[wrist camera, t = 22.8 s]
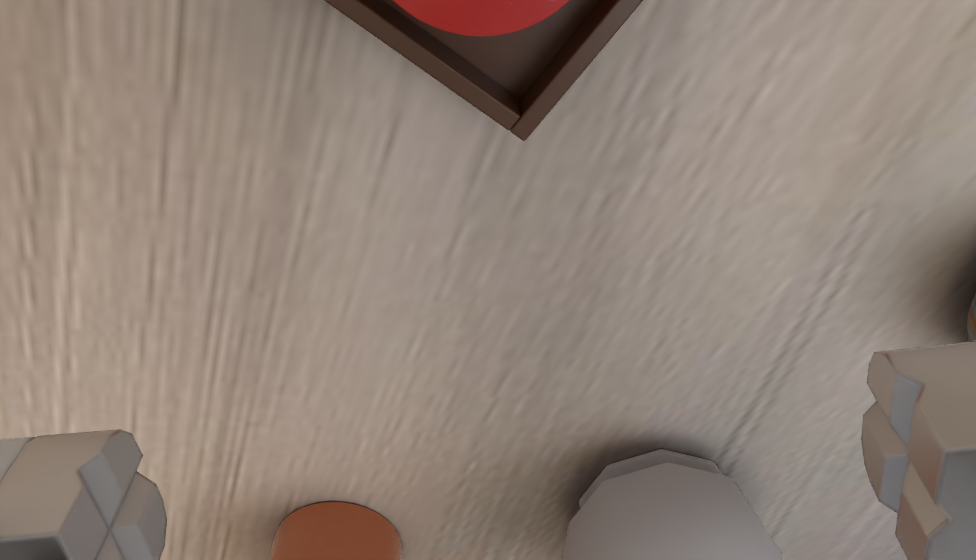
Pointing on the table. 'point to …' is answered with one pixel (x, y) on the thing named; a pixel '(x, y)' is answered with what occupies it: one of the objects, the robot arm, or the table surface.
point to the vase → (972, 321)
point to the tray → (501, 55)
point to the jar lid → (481, 14)
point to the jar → (336, 534)
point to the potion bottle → (666, 514)
